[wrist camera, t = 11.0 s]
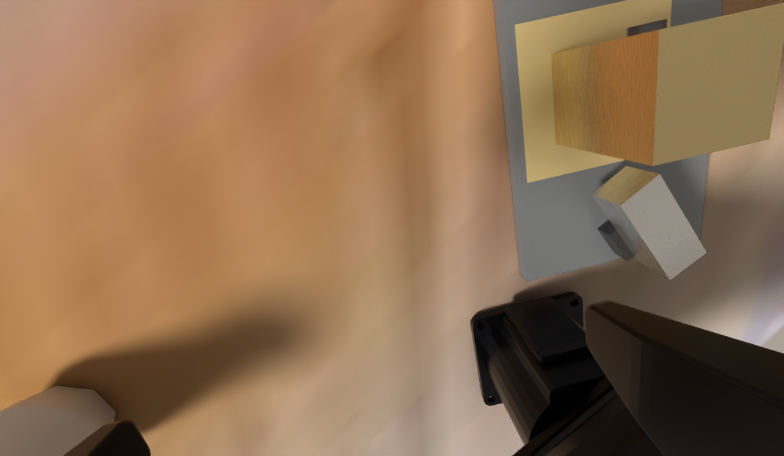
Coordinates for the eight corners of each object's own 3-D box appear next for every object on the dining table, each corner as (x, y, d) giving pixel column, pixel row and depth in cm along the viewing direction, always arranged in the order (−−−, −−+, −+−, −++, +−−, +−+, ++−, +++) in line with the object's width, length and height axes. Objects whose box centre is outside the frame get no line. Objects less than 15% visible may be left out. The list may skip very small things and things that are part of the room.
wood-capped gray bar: (656, 247, 20) (706, 271, 17) (581, 265, 20) (619, 292, 17) (677, -168, 14) (758, -234, 11) (568, -146, 14) (624, -208, 11)
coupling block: (635, 132, 18) (767, 148, 12) (556, 150, 18) (652, 174, 12) (638, 27, 16) (791, -11, 11) (551, 46, 16) (659, 17, 10)
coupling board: (688, 234, 21) (702, 240, 20) (519, 275, 21) (527, 282, 20) (720, -172, 15) (742, -188, 14) (481, -123, 15) (489, -137, 14)
